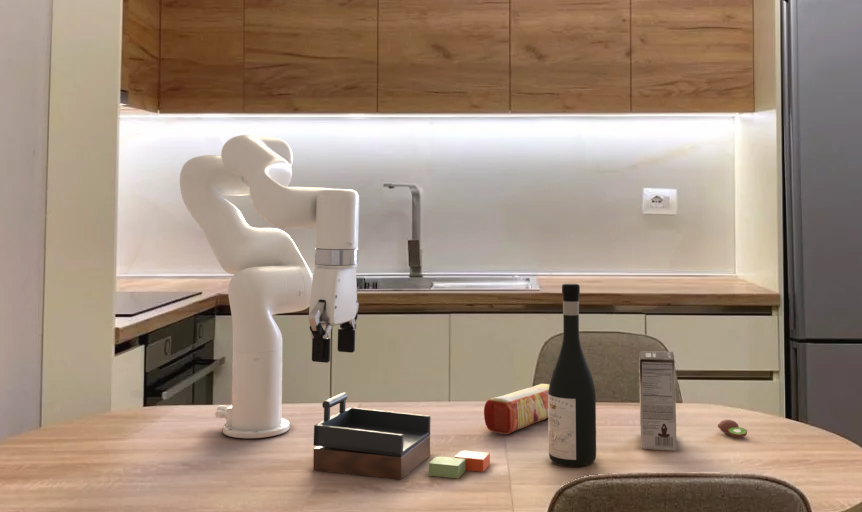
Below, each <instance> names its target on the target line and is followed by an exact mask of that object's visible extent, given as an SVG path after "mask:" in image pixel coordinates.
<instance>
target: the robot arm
mask: <svg viewBox="0 0 862 512" xmlns="http://www.w3.org/2000/svg"><path fill="white" fill-rule="evenodd" d="M291 148H292V147H290V145H289V144H288V143H287V141H285V140H284V139H282V138H280V137H275V136H263V135H251V134H241V135H236V136H233V137H231V138H230V139H228V140H227V141H226V142H225V143H224V144H223V146H222V148H221V152H220V155H216V154H206V155H198V156H194V157H192V158H190V159H187V161H186V162H185V163H184V164H183V166H182V167H181V169H180V174H179V188H180V195H181V198H182V201H183V204H184V205H185V207H186V209H187V211H188V213H189V214H190V215H191V216H192V218H193V219H194V221H195V222H196V223H197V224H198V226H199V227H200V229H201V230H202V232H203V235H204V236H205V238H206V241H207V242H208V244H209V246H210V248H211V250H212V252H213V253H214V256H215V257H216V260H217V261H218V263H219V265H220V267H221V268H222V270H223V271H224V272H225V273H227V274H230V275H233V276H232V277H231V278H230V280H229V283H228V289H227V294H228V301H229V308H230V314H231V324H232V326H231V327H232V369H231V371H232V372H231V405H229V406H228V405H218V407H217V409H216V411H215V414H214V415H215V418H218V419H225V420H226V421H225V422H226V423H224V425H222V433H223V434H224V435H225V436H226V437H231V438H234V439H235V438H236V439H263V438H270V437H274V436H279V435H282V434H284V433H286V432H288V431H289V429H290V421H289V420H287V419H285V418H282V417H283V415H282V413H283V411H282V410H283V342H284V341H283V335H282V332H281V328H280V327H279V326H278V324H277V323H276V320H275V319H274V317H273V315H278V314H288V313H298V312H302V311H305V310H307V309H309V311H308V316H307V317H308V323H309V330H310V332H311V333H310V338H311V361H312V362H315V363H324V364H325V363H327V364H328V363H329V362H331V340H332V339H331V338H329V337H330V334H331V330H332V328H333V327H336V326H339V328H338V329H337V352H339V353H350V354H352V353H354V352H355V350H356V329H357V323H356V322H357V319H358V313H359V312H358V311H359V307H360V303H359V302H358V285H357V282H358V281H357V268H358V266H359V265H358V264H359V231H360V230H359V229H360V228H359V227H360V226H359V225H360V223H359V222H360V196H359V194H358V192H357V190H354V189H346V188H330V187H311V186H289V185H290V183H291V181H292V177H293V176H292V175H293V170H292V166H293V163H294V162H293V161H294V155H293V151H292V149H291ZM224 196H249V197H250V203H251V205H252V208H253V211H255V213H256V214H257V215H258V216H259V217H261V218H262V219H263V220H264V221H266V222H267V223H268V224H270V225H271V226H273V227H253V226H250V225H249V224H248V223H247V221H246V220H245V218H244V215H243V213H242V212H241V211H240V209H238V207H237V206H236V205H235V204H233V203H232V202H231V201H229V200H228V199H226V198H225V197H224ZM284 229H285V230H287V229H288V230H289V229H290V230H291V229H315V239H314V240H315V242H314V243H315V244H314V245H315V246H314V270H313V273H312V271H311V269H310V267H309V266H308V263H307V262H306V261H305V259H304V257H303V255H302V253H301V252H300V250H299V248H298V247H297V245H296V243H295V241H294V240H293V239H292V238H291V236H290V235H289V234H288V233H287V232H285V231H284Z"/></svg>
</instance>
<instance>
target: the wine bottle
mask: <svg viewBox="0 0 862 512" xmlns="http://www.w3.org/2000/svg"><path fill="white" fill-rule="evenodd" d="M580 289H581V287H580V284H578V283H563V284H561V294H562V311H563V312H562V316H563V319H562V320H563V324H562V325H563V326H562V327H563V328H562V329H563V336H562V342H561V347H560V350H559V353H558V356H557V358H556V362H555V364H554V367H553V369H552V372H551V375H550V379H549V383H548V384H549V391H548V418H547V420H548V423H547V425H548V457H549V460H550V461H551V462H553V463H554V464H555V465H558V466H561V467H567V468H583V467H588V466H590V465H592V464H593V463H594V462H595V461H596V459H597V408H596V407H597V403H596V402H597V400H596V399H597V398H596V397H597V396H596V395H597V394H596V389H595V384H594V379H593V376H592V373H591V370H590V367H589V365H588V362H587V360H586V357H585V355H584V352H583V349H582V344H581V340H580V339H581V338H580V323H579V322H580V293H581V290H580Z"/></svg>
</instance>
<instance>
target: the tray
mask: <svg viewBox="0 0 862 512" xmlns="http://www.w3.org/2000/svg"><path fill="white" fill-rule="evenodd" d="M347 399H348V394H347V393H346V392H343V391H342V392H340V393H339V394H337V395H335V396H332V397H330V398H328V399H326V400H323V402H322V404H321V406H322V408H323V420H321V421H320V422H318V423H316V424H314V425H313V446H314V447H318V446H321V447H329V448H337V449H345V450H353V451H361V452H369V453H377V454H385V455H393V456H402V455H404V454H405V453H406V452H408V451H409V450H410V449H412V448H413V447H414V446H416V445H417V444H418V443H420V442H421V441H422V440H424V439H425V438H426V437H428V436H429V435H430V436H431V421H432V420H431V419H432V417H431V415H427V414H419V413H409V412H401V411H391V410H390V411H389V410H381V409H373V408H362V407H353V406H349V407H347V408H346V403H347V401H346V400H347ZM336 405H339V411H338V412H337V413H335V414H333V415H331V408H333V407H335V406H336Z"/></svg>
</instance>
